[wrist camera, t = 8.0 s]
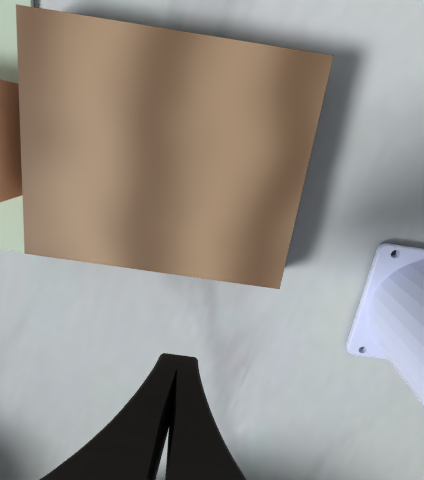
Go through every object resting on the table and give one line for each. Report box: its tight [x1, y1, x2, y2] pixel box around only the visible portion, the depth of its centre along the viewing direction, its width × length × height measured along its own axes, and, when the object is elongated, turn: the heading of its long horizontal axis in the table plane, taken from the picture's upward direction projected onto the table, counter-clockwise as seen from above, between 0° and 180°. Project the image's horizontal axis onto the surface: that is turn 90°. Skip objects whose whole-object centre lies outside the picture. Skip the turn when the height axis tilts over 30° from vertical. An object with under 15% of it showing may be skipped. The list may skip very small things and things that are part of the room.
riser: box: [16, 4, 333, 289], centre depth 18 cm, size 14×12×2 cm
